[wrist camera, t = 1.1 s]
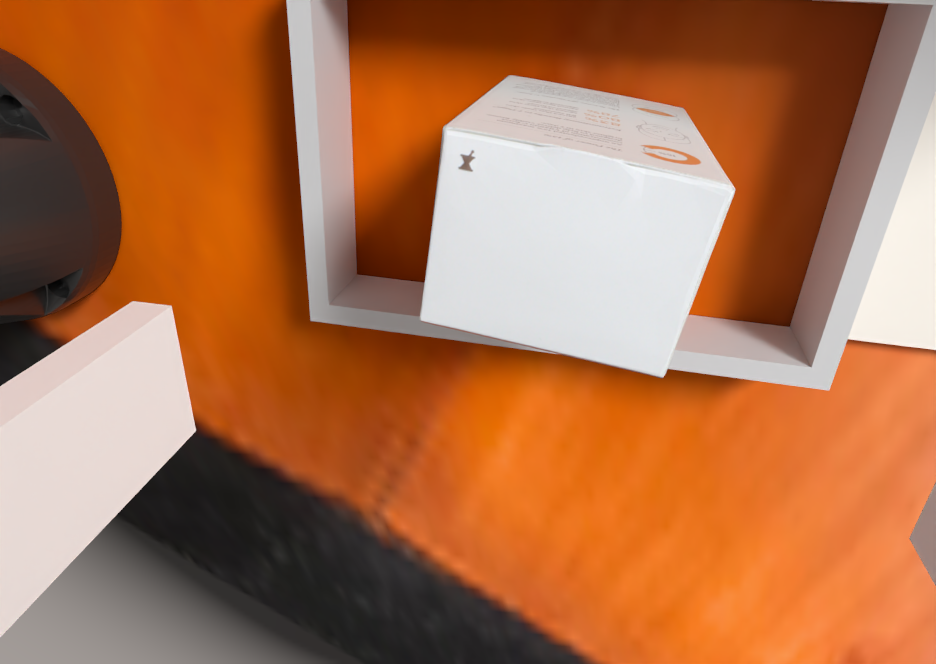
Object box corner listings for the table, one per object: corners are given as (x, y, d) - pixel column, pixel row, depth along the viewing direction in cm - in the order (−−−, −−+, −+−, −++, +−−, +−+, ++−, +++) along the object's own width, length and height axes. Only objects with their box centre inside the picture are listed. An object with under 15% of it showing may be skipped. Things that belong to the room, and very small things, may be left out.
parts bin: (340, 289, 36) (310, 320, 32) (323, -50, 28) (282, -57, 25) (805, 347, 32) (829, 390, 28) (926, -25, 25) (978, -29, 21)
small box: (483, 208, 32) (411, 323, 21) (507, 71, 29) (438, 119, 18) (647, 243, 31) (667, 384, 20) (689, 107, 28) (741, 181, 17)
